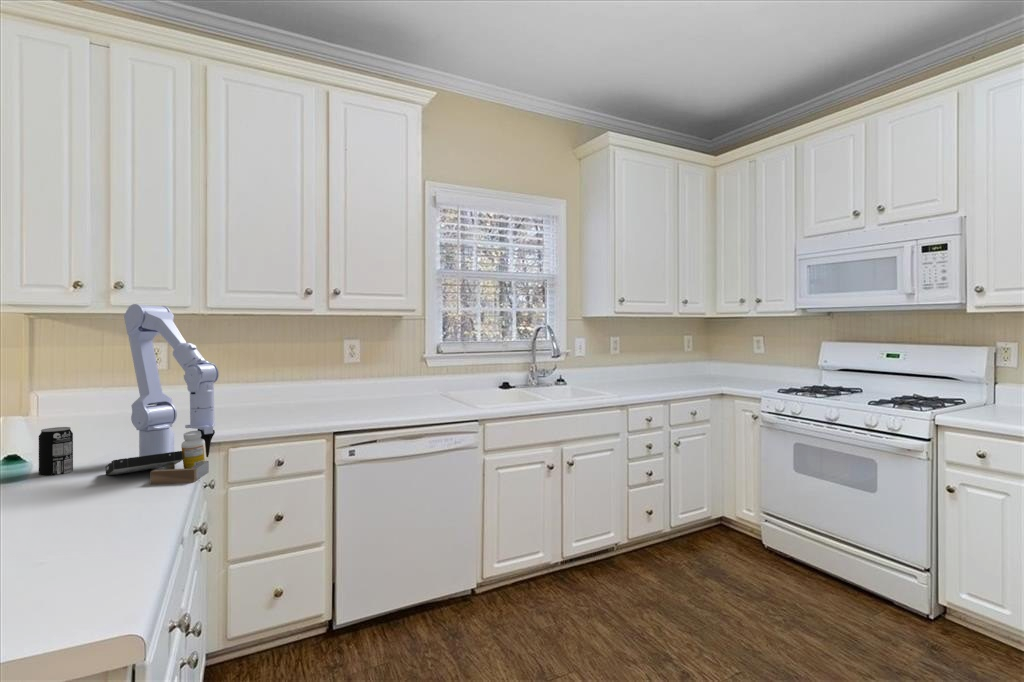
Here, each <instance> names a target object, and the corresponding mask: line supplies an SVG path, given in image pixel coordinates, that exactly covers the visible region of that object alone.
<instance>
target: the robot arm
mask: <svg viewBox="0 0 1024 682" xmlns="http://www.w3.org/2000/svg"><path fill="white" fill-rule="evenodd" d="M123 317H124V324H125V329H126V334H127V336H128V342H129V346H130V352H131V356H132V363H133V366H134V373H135V377H136V383H137V387H138V392H139V394H138V395H139V397H138V398H136V400H135V401H134V402H132V403H131V404H130V405H131V418H130V420H131V423H132V426H133V427H134V428H135V429H136V431H138V436H139V437H138V443H139V445H138V449H139V450H138V453H139V454H138V455H139V456H138V457H140V456H147V455H155V454H161V453H162V454H163V453H169V452H175V432H174V430H173V428H172V427H173V424H175V422H176V421H177V417H178V412H177V409H176V407H175V405H174V403H173V399H172V398H171V397H170V396H168V395H167V394H165V393H164V392H163V388H162V383H161V377H160V373H159V368H158V363H157V358H156V352H155V348H154V343H153V340H154V338H156V337H158V336H159V335H161V337H163V339H164V340H165V341H166V342H167V344H169V346H170V347H171V348H172V349H173V351H172V356H173V358H174V359H175V361H176V363H178V364H179V366H180V367H181V369H182V371H184V374H183V380H184V382H185V383H186V386H187V391H188V392H189V422H190V423H189V424H185V426H184V428H186V429H195V430H196V429H197V431H201V437H200V438H202V439H204V441H205V447H206V457H207V458H209V455H210V447H211V443H212V439H213V437H214V435H215V434H216V432H215V429H214V427H215V426H216V422H215V386H214V385H215V383H216V382H217V381H218V379H219V375H220V374H219V373H220V372H219V369H218V367H217V365H216V364H215V363H212V362H209V361H208V360H205V358H204V356H203V355H202V354H201V353H200V351H199V350H198V349H197V348H198V347H197V346H196V345H195V344H194V343H191V342H186V340H185V338H184V336H182V334H181V332H180V330H179V329H178V327H177V326H176V323H175V322H174V319H175V315H174V313H173V312H172V311H171V309H170V307H168V306H166V305H151V304H150V305H149V304H148V305H146V304H138V303H133V304H130V305H129V306H128V307H127V310H126V312H125V313H124V314H123Z"/></svg>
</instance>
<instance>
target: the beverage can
mask: <svg viewBox="0 0 1024 682" xmlns="http://www.w3.org/2000/svg"><path fill="white" fill-rule="evenodd" d="M73 471H74V433H73V431H72V430H71V427H70V426H57V427H48V428H42V429H41V430H40V433H39V435H38V475H39V476H42V477H44V476H45V477H49V476H50V477H51V476H61V475H65V474H69V473H72V472H73Z"/></svg>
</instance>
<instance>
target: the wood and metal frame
mask: <svg viewBox="0 0 1024 682" xmlns="http://www.w3.org/2000/svg"><path fill="white" fill-rule="evenodd" d="M175 465H176V464H175V462H173V463H167V464H165V465H163V466H161V467H159V468H157V469H152V470H151V471H150V476H149V477H150V478H149V479H150V482H149V484H150V485H161V484H163V485H164V484H182V483H196V481H199V479H201V478H203V477H204V476H206V475H207V474H209V472H210V470H209V467H210V466H209V460H207V461H202V462H200V463H198V464H197V465H195V466H193V467H192V468H190V469H184V468H175Z"/></svg>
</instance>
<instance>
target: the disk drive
mask: <svg viewBox="0 0 1024 682" xmlns="http://www.w3.org/2000/svg"><path fill="white" fill-rule="evenodd" d="M173 462H175V465H177V464H178V463H181V462H183V454H182V450H177V451H174V452H169V453H163V454H162V453H161V454H155V455H147V456H140V457H139V456H135V457H128V458H126V457H125V458H119V459H114V460H112V461H111V462H110V463H108V464H107V465H106V466H105V468H104V469H105V475H106V476H116V475H121V474H122V475H123V474H129V473H136V472H141V471H148V470H155V469H157V468H159V467H161V466H163V465H165V464H167V463H173ZM115 474H116V475H115Z"/></svg>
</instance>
